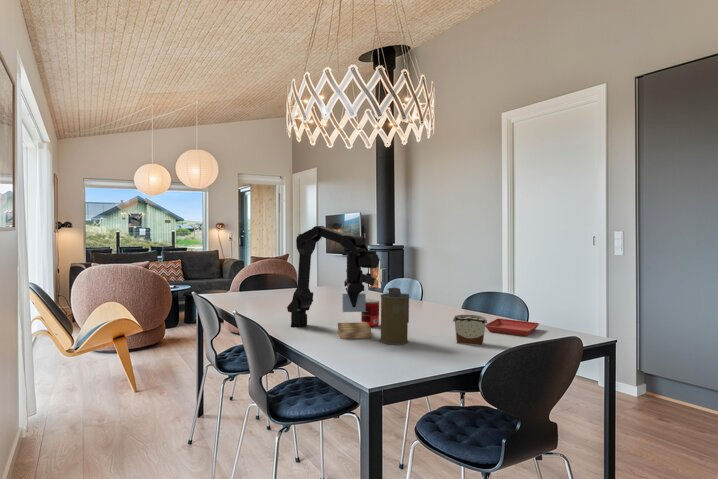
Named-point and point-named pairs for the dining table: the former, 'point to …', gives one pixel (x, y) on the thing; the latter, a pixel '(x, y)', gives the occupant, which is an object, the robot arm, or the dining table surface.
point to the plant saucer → (511, 327)
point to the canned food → (371, 313)
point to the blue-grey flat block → (359, 305)
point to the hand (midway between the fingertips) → (353, 306)
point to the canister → (394, 317)
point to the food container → (470, 329)
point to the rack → (354, 330)
